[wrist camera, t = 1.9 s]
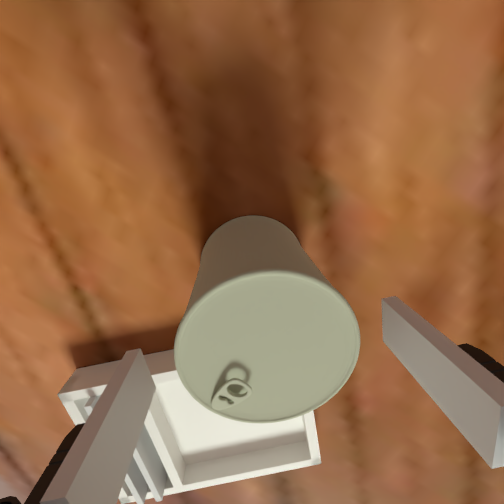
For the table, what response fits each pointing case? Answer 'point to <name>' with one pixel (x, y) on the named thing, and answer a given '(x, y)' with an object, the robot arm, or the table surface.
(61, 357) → the table surface
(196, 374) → the can
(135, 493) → the rack
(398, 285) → the table surface
